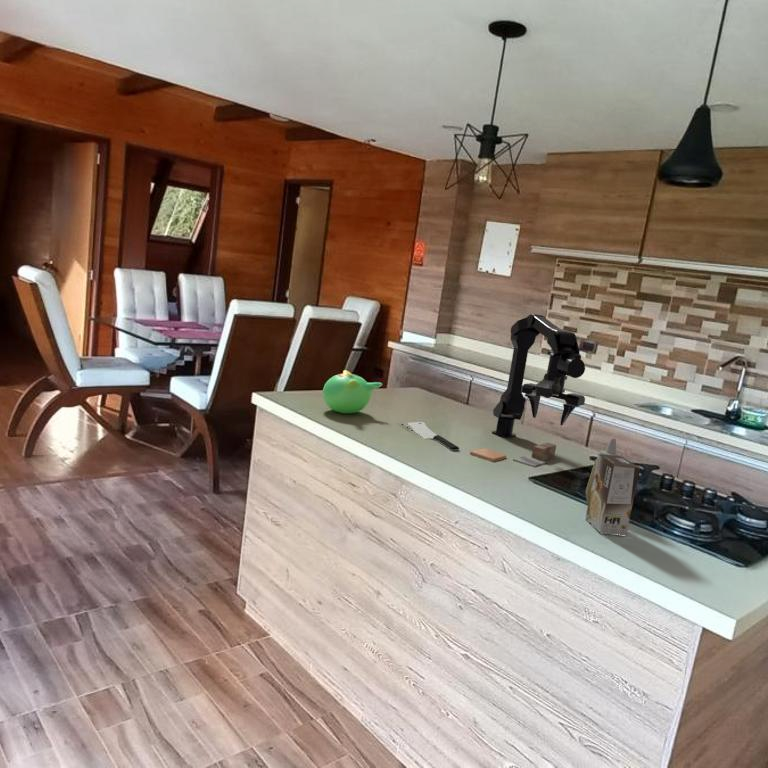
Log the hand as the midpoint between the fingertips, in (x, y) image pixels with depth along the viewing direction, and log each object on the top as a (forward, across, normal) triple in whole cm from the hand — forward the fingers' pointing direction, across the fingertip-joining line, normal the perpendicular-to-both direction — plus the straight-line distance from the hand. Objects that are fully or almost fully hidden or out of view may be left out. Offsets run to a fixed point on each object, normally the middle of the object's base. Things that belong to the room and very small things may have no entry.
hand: (547, 421), depth 196 cm
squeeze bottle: (+12, +30, -28) cm, 43 cm away
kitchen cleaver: (+13, -33, -16) cm, 38 cm away
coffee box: (+12, +36, -40) cm, 56 cm away
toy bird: (+12, -66, -19) cm, 70 cm away
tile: (+12, -10, -15) cm, 22 cm away
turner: (+12, 0, -2) cm, 12 cm away
